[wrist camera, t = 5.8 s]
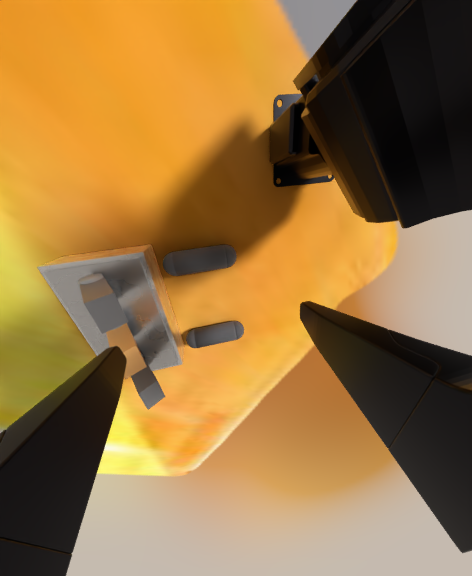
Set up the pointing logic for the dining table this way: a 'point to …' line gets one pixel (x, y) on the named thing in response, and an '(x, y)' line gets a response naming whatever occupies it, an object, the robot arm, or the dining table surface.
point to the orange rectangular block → (127, 348)
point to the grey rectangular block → (101, 302)
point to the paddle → (147, 386)
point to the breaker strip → (122, 300)
